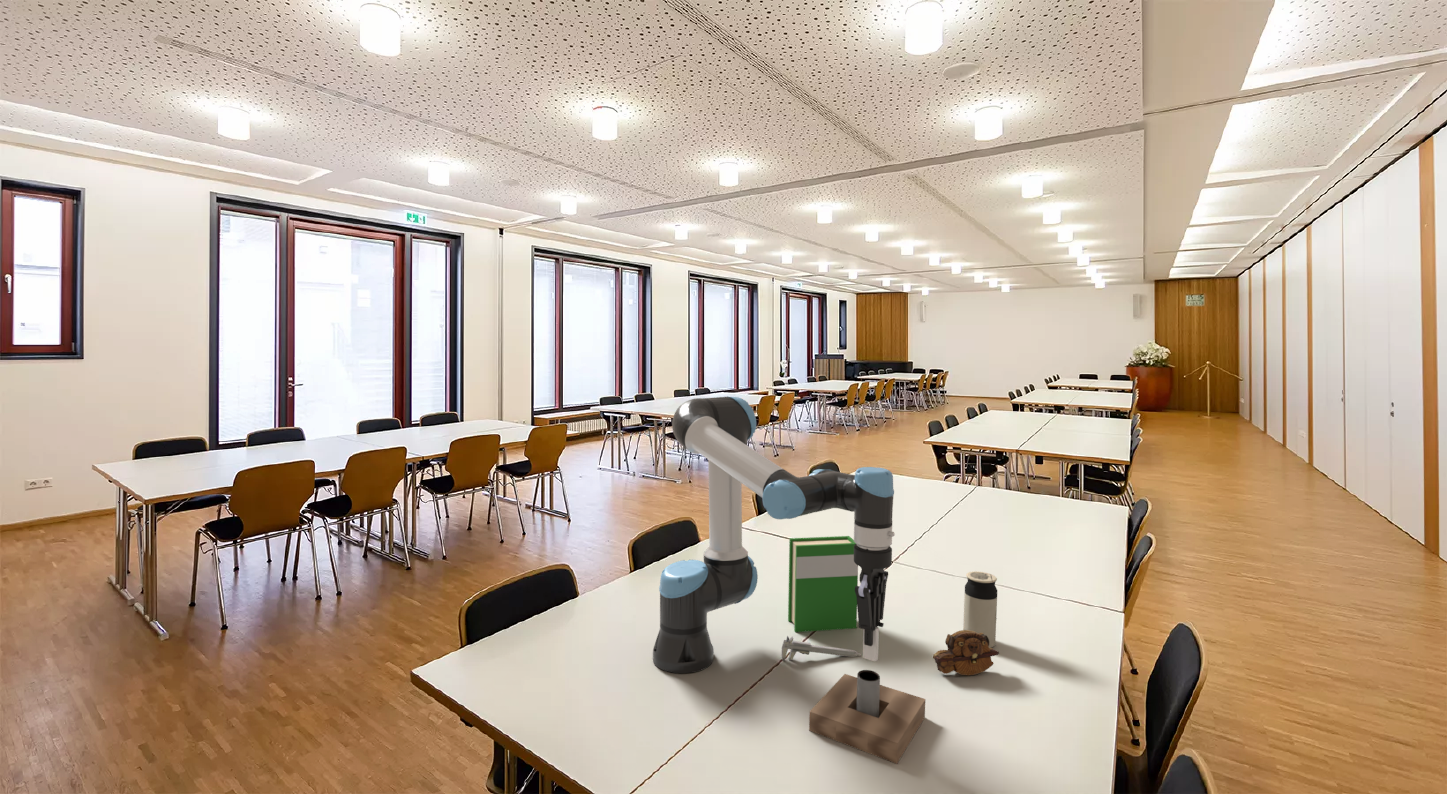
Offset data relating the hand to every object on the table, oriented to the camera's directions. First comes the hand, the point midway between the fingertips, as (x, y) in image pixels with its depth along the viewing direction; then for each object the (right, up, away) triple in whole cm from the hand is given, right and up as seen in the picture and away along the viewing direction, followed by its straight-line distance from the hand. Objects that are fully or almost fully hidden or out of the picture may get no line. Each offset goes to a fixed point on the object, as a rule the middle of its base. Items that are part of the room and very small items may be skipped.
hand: (870, 658), depth 126 cm
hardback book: (-2, -11, +48) cm, 49 cm away
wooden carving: (+28, -13, +22) cm, 38 cm away
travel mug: (+38, -12, +38) cm, 55 cm away
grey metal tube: (0, -14, +1) cm, 14 cm away
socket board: (0, -14, +1) cm, 14 cm away
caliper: (-5, -13, +29) cm, 32 cm away
